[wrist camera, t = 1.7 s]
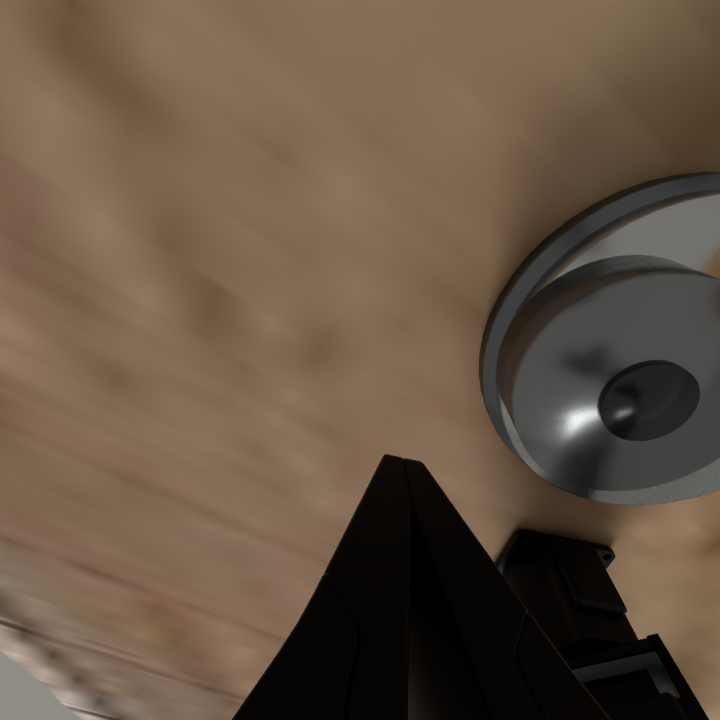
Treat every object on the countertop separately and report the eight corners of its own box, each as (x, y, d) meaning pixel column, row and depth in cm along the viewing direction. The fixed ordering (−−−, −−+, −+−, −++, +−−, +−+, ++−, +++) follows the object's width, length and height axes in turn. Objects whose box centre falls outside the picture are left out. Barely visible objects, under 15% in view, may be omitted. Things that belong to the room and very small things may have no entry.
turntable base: (698, 501, 24) (710, 514, 23) (436, 444, 23) (438, 456, 22) (935, 227, 17) (965, 231, 16) (567, 125, 16) (578, 124, 15)
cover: (644, 461, 20) (691, 517, 17) (466, 421, 19) (482, 472, 16) (772, 286, 16) (864, 319, 13) (551, 228, 15) (593, 249, 12)
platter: (711, 511, 23) (785, 593, 19) (451, 455, 22) (468, 528, 18) (952, 243, 16) (1155, 277, 12) (588, 142, 15) (669, 142, 11)
